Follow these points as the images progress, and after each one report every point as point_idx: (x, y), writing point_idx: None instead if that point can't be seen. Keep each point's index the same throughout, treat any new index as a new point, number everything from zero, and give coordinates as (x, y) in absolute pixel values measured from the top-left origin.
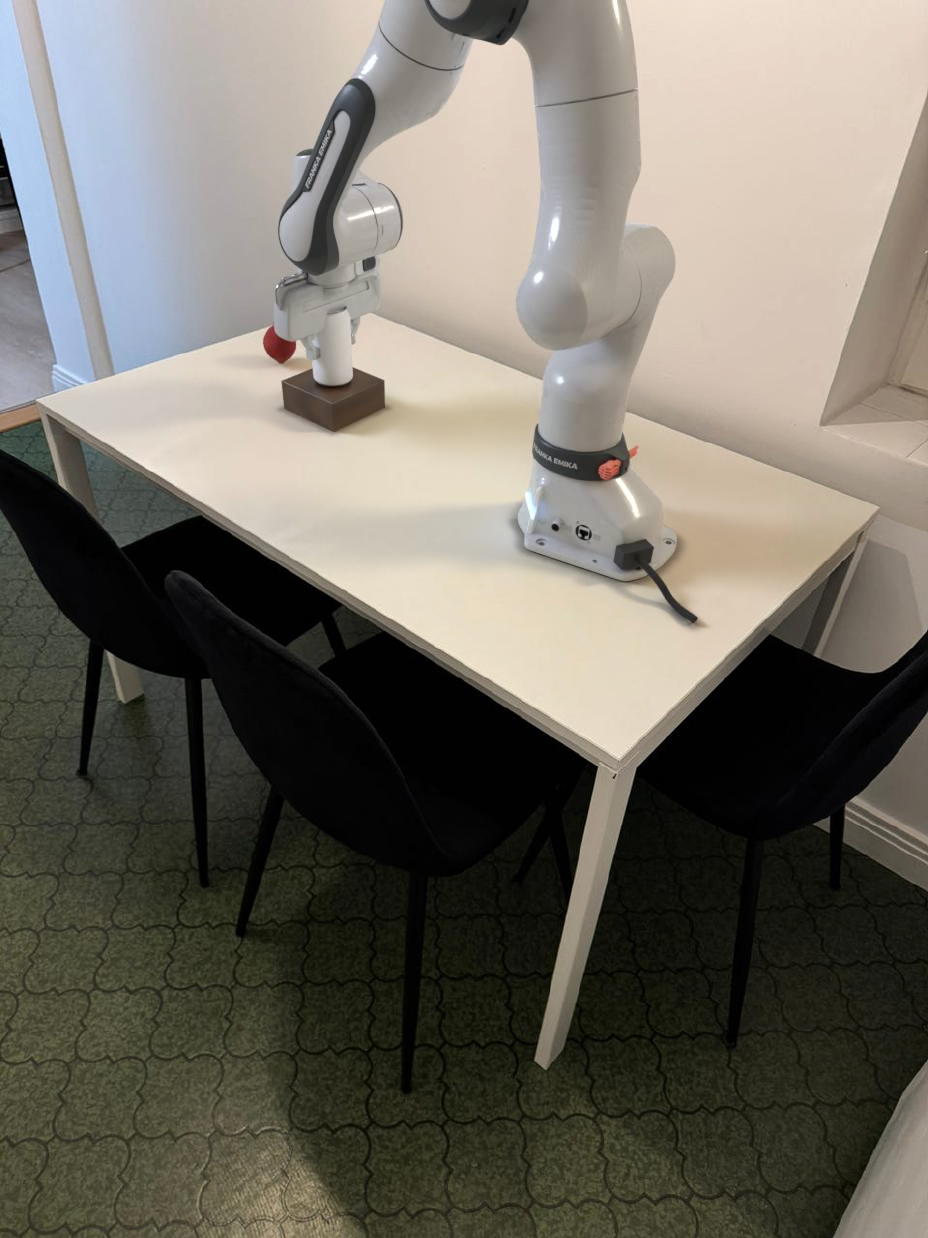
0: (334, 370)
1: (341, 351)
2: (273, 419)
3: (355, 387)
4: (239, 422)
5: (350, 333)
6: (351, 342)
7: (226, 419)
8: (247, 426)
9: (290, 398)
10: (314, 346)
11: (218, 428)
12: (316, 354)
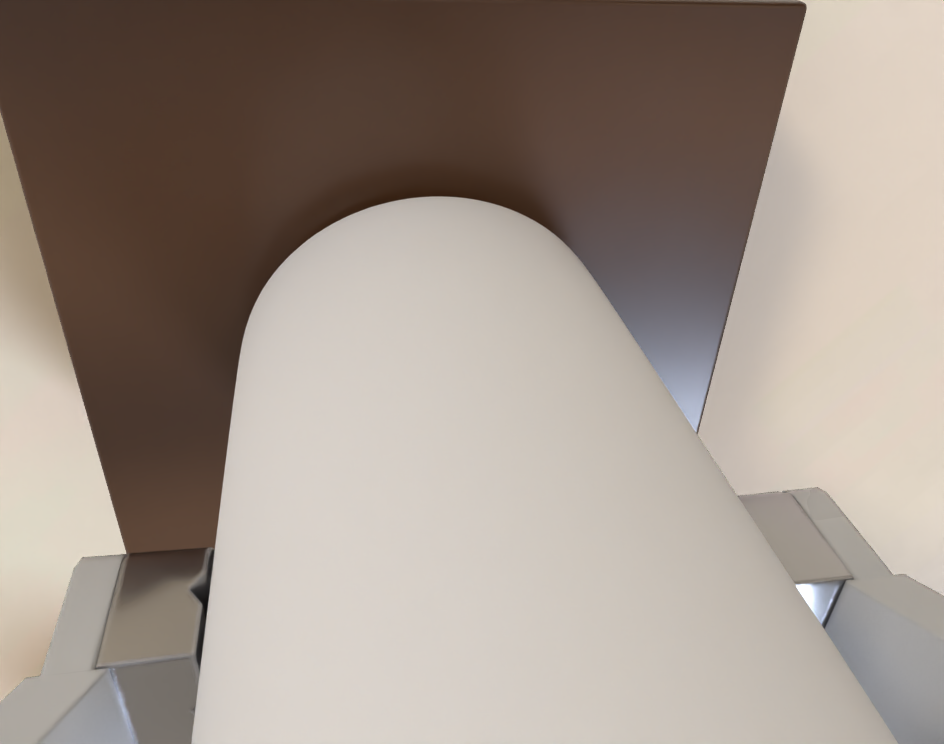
0: (603, 304)
1: (585, 406)
2: (734, 367)
3: (378, 104)
4: (841, 442)
5: (337, 637)
6: (161, 571)
7: (841, 494)
8: (861, 391)
9: None
10: (915, 613)
11: (932, 452)
12: (811, 527)
